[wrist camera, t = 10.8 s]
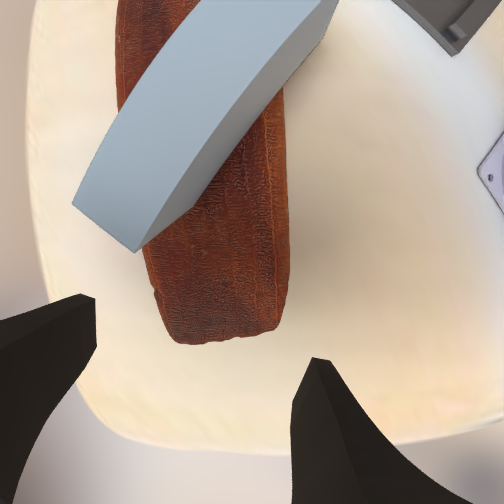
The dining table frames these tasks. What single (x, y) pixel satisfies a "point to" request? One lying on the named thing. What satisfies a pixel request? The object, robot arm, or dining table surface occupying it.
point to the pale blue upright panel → (195, 110)
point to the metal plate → (450, 19)
